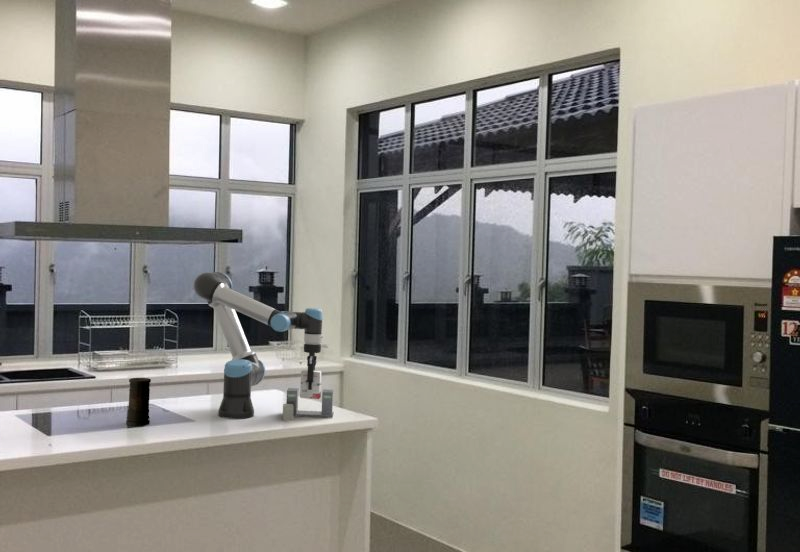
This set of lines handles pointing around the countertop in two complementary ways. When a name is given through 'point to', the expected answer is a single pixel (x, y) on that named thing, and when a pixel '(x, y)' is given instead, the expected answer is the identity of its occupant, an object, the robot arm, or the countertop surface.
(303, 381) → the ink box
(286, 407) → the block
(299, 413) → the grey holder fixture
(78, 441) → the countertop surface
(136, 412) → the container
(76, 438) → the countertop surface
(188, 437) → the countertop surface
